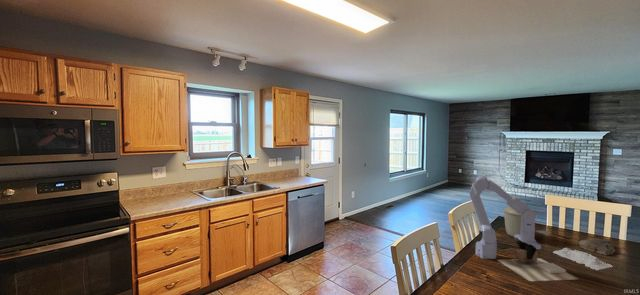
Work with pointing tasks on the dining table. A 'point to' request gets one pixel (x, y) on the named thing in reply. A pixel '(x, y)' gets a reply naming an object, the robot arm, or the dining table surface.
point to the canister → (512, 221)
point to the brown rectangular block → (525, 256)
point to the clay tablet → (598, 246)
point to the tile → (551, 268)
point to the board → (534, 270)
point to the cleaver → (551, 233)
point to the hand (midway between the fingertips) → (526, 257)
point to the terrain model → (583, 258)
